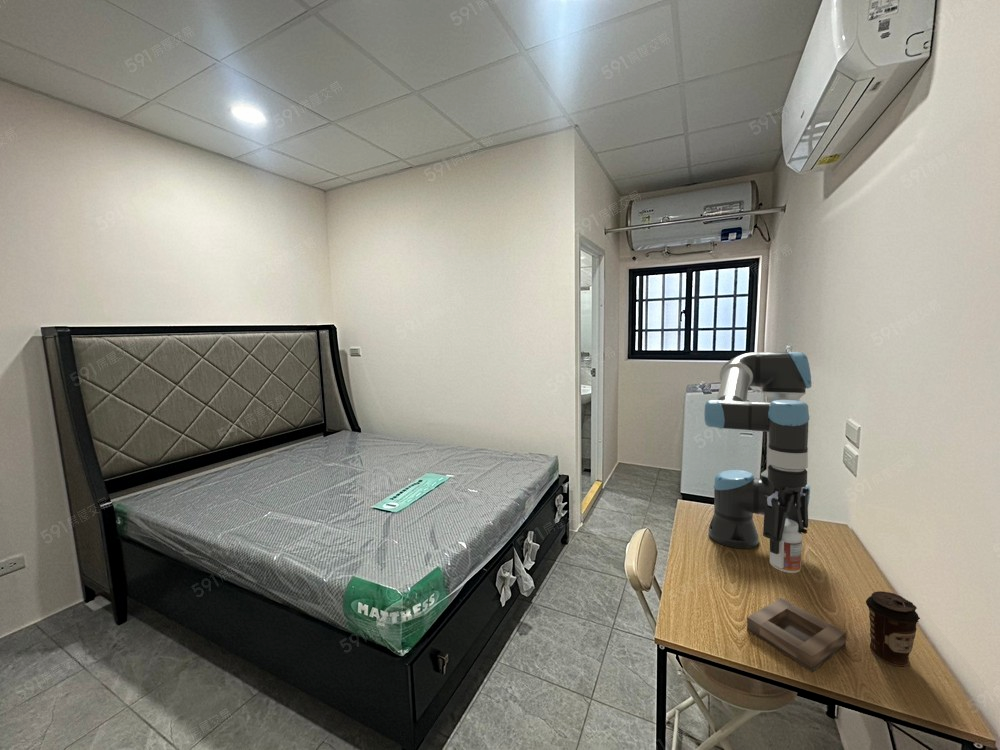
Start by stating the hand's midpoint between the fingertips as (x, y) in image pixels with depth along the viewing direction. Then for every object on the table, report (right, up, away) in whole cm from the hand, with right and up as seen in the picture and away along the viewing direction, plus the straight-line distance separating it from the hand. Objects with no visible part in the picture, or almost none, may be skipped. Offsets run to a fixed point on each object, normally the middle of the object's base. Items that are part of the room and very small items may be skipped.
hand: (785, 561), depth 97 cm
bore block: (+2, -18, -1) cm, 18 cm away
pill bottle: (0, -2, 0) cm, 2 cm away
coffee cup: (+18, -18, -7) cm, 27 cm away
